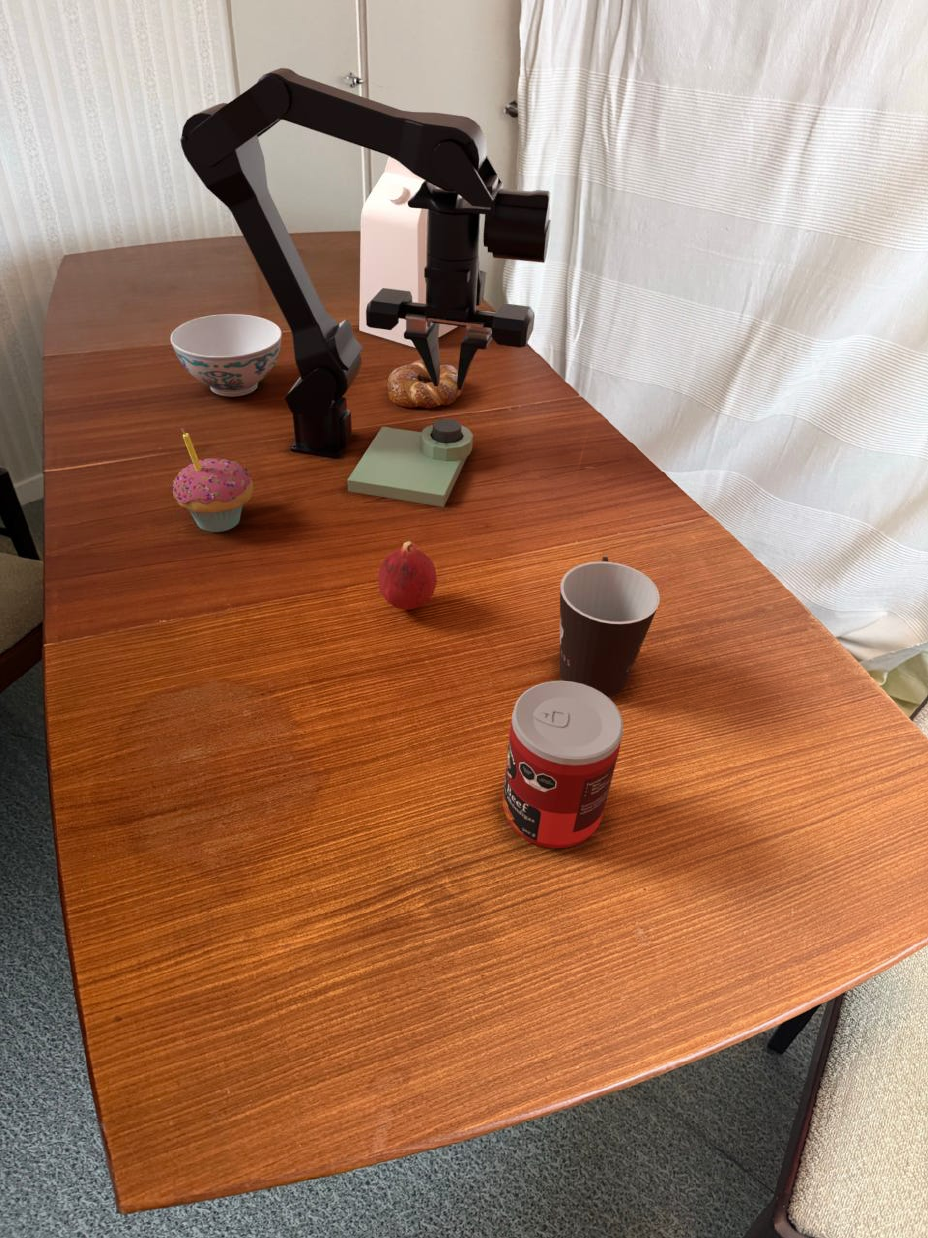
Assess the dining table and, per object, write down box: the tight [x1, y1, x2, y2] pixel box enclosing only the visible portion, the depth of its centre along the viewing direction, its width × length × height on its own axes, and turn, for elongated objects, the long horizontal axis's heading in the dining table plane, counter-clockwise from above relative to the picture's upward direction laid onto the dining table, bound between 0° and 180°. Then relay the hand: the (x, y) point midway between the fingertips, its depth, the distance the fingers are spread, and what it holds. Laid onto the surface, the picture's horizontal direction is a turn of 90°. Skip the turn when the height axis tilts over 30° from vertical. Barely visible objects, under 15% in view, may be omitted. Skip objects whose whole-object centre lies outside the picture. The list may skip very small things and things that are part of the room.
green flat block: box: [347, 424, 474, 508], centre depth 104 cm, size 13×14×4 cm
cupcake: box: [171, 427, 255, 533], centre depth 91 cm, size 9×8×12 cm
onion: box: [377, 540, 438, 611], centre depth 82 cm, size 6×6×8 cm
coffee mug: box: [559, 556, 661, 698], centre depth 76 cm, size 12×9×10 cm
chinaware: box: [170, 313, 283, 397], centre depth 118 cm, size 15×15×8 cm
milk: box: [358, 156, 458, 348], centre depth 131 cm, size 12×12×26 cm
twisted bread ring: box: [387, 359, 465, 409], centre depth 120 cm, size 12×11×4 cm
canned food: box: [502, 680, 624, 849], centre depth 63 cm, size 8×8×11 cm
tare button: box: [432, 418, 462, 444], centre depth 105 cm, size 4×4×2 cm
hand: (448, 386), depth 101 cm, fingers open, 3 cm apart
